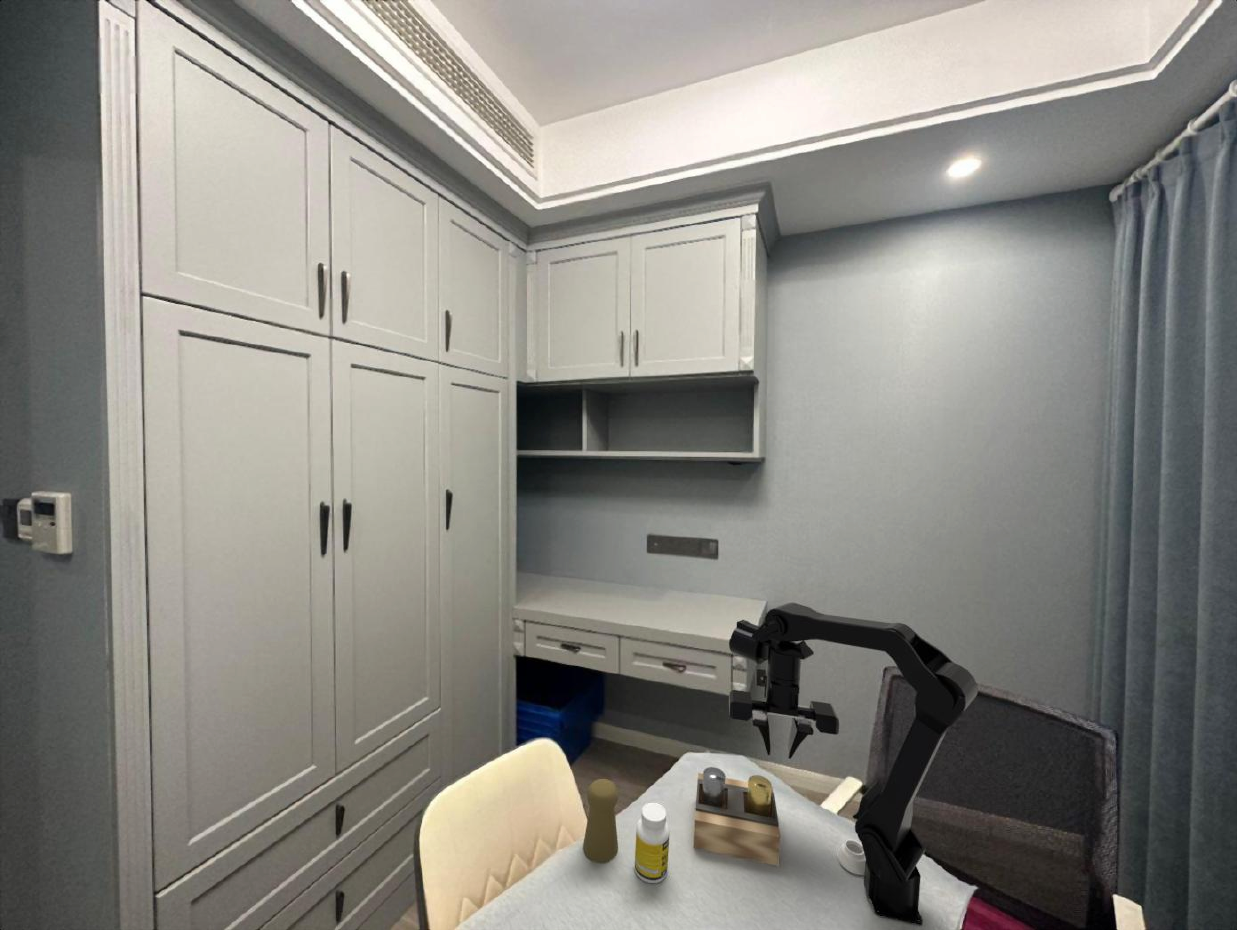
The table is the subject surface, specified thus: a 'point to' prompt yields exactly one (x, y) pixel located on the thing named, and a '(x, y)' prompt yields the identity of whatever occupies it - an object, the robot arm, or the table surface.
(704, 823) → the socket board
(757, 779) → the brass plunger
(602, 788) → the olive brown pepper mill
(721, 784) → the steel plunger
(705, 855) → the table surface
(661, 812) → the supplement bottle
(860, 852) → the white jar
